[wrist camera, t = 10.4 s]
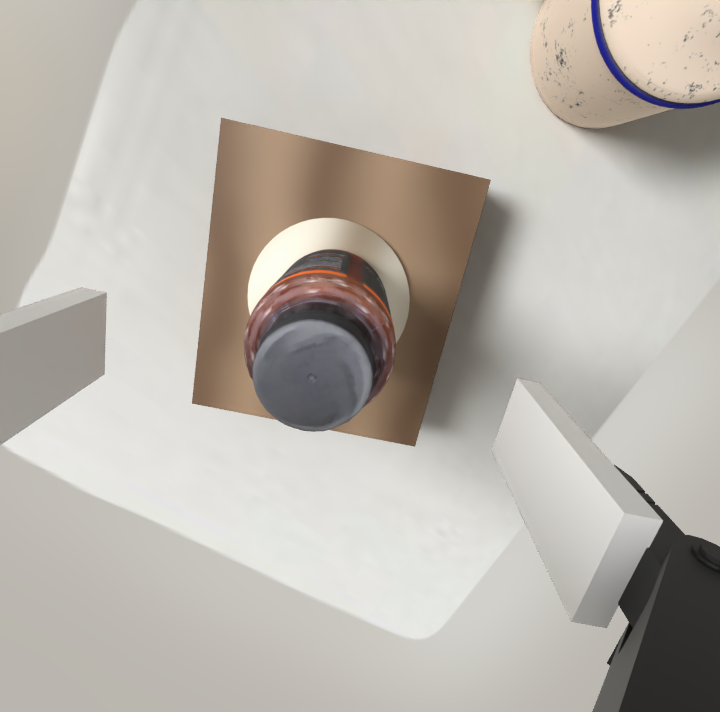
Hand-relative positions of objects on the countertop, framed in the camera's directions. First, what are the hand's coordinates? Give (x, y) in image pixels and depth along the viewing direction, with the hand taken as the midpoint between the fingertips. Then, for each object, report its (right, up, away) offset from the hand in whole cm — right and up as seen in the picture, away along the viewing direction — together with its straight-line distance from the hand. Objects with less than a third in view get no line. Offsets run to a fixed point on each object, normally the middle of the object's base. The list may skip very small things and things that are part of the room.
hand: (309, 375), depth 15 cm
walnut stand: (0, +5, +16) cm, 17 cm away
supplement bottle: (0, +4, +11) cm, 12 cm away
